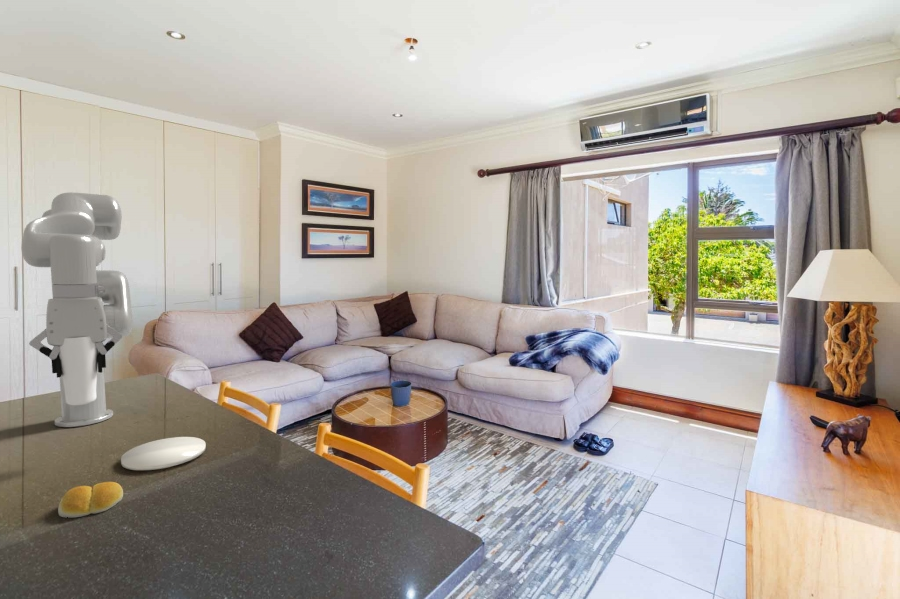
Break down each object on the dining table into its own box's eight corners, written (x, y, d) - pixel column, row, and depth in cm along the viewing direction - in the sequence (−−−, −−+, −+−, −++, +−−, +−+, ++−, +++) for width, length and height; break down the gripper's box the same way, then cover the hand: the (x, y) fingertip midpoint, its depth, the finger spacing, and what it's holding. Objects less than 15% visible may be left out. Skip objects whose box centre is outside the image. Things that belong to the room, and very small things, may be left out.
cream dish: (119, 454, 103) (118, 447, 103) (198, 437, 113) (198, 431, 113) (123, 480, 91) (123, 473, 90) (212, 459, 101) (212, 452, 100)
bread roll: (122, 509, 80) (121, 487, 80) (56, 525, 76) (54, 501, 75) (124, 489, 87) (123, 469, 87) (64, 503, 82) (62, 481, 82)
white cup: (78, 408, 97) (74, 339, 95) (53, 405, 98) (48, 337, 97) (108, 398, 104) (104, 333, 102) (84, 396, 105) (80, 331, 103)
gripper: (123, 289, 106) (127, 364, 108) (22, 292, 96) (28, 375, 97) (125, 292, 101) (129, 371, 102) (18, 295, 90) (24, 384, 92)
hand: (80, 372), depth 100 cm, fingers closed on white cup, 6 cm apart
